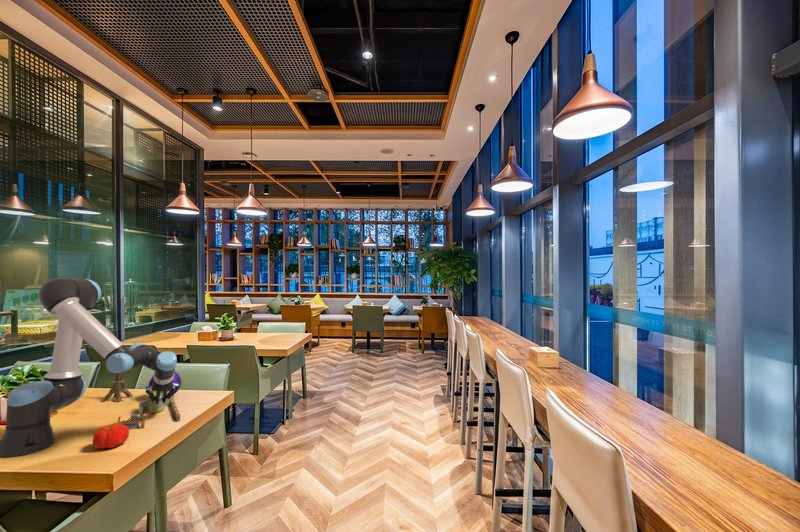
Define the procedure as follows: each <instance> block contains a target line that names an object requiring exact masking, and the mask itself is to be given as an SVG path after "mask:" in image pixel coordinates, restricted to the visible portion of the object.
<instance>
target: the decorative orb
mask: <svg viewBox="0 0 800 532" xmlns="http://www.w3.org/2000/svg"><path fill="white" fill-rule="evenodd" d="M153 381H154V375H153V376H152V377H151V378H150V380H149V381H148V386H147V387H151V386H152V384H153ZM173 382H174V383H178V384H179V388H178V389H176V390H175V392H174V393H173V395H172V396H174V395H175V394H176V393H177V392H179V390H180V388H181V386H182V378H181V376H180V374H179V373H178V372H177V371H175V373H174V379H173ZM170 389H171V388H170ZM170 389H169V390H170ZM169 390H167V391H169ZM152 391H153V392H154V390H152Z"/></svg>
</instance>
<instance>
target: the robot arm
mask: <svg viewBox="0 0 800 532" xmlns="http://www.w3.org/2000/svg"><path fill="white" fill-rule="evenodd" d="M101 297H102V290H101V287H100V285H99V284H98V283H97V282H95V281H94V280H92V279H88V278H82V277H81V278H79V277H74V278H72V277H71V278H69V277H56V278H52V279H49V280H47V281H46V282H44V283H43V284H42V285H41V286H40V288H39V290H38V300H39V302H40V304H41V305H42V306H43V308H44V309H46V311H47V312H48V313H49V314H50V315H52V316H58V322H57V328H56V334H55V340H54V347H53V351H52V357H51V361H50V362H51V363H50V368H49V371H48V372H47V373H45V374H44V376H43V380H38V381H37V380H36V381H31V382H29V383H24V384H20V385H18V386H15V387H14V388H12V389H11V390H10V391H9V392H8V396H7V399H6V415H5V417H6V418H5V419H6V420H5V431H4V434H3V436H2V437H1V439H0V458H11V457H13V458H14V457H20V456H24V455H28V454H33V453H37V452H38V451H42V450H44V449H47V448H49V447H51V446H52V445H54V444H55V442H56V435H55V433H54V430H53V428H52V425H51V414H52V413H51V412H53V411H56V410H59V409H60V408H63V407H66V406H70V405H72V404H73V403H75V402H77V401H78V400H80V399H81V398H82V397H83V395H84V394H85V392H86V390H87V382H86V380H85V378H84V377H83V373H82V372H81V370H79V365H80V359H81V352H82V347H83V340H84V341H85V342H86V343H87V344H88V345H89V346H90V347H91V348H93V349H94V350H95V352H97V353H98V354H99V355H100V356H101V357H102V358H104V359H105V361H106V362H105V367H106V370H108V371H109V373H113V374H116V373H121V372H122V373H125V372H128V371H129V370H132V369H135V368H138V367H140V366H141V367H145V368H147V369H149V370H152V371H153V372H154V374H153V376H154V381H153V384H152V386H151V387H148V386H145V393H146V394H148V395H149V397H150V399H151V401H152V402H154V401H155V404H158V409H161V408H162V403H165V401H166V399H170V398H171V396H172V395H173V393H174V392H175V390H176V389H178V388H179V384H178V383H174V382H173V379H174V373H175V372H176V367H177V365H178V364H177V363H178V361H177V360H178V357H177V354H175V352H173V351H162V352H161V351H159V350H157V349H155V348H153V347H150V346H149V345H147V344H145V343H142V342H134V344H132V345H130V346H129V348H128V347H127V346H126V345H125V344H123V342H122V341H121V340H119V339H118V338H117V337H116V336H115V334H114V333H112V332H111V331H109V329H108V328H107V327H105V326H104V325H103V324H102V323H101V321H99V320H98V319H97V318H96V317H95V316H94V315H92V314H91V313H90V312H93V309H94V308H93V307H94V305H95V304H96V303H98V302H99V300H100V299H101ZM170 388H171V389H170ZM169 389H170V390H169ZM179 389H180V388H179ZM152 390H154V391H156V392H157V393H156V397H154V394H153V391H152ZM167 390H169V392H168V394H167ZM162 391H163V396H160V393H161V392H162ZM173 396H174V395H173ZM19 455H20V456H19Z"/></svg>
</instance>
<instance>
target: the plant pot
mask: <svg viewBox="0 0 800 532" xmlns="http://www.w3.org/2000/svg"><path fill="white" fill-rule="evenodd" d="M168 392H169V391H167V394H168ZM156 393H157V392H156V391H154V392H153V394H154V397H156ZM145 396H146V398H147V399H146V400H148V407H149V409H148V412H149V413H150V414H152V413H153V414H155V413H157V412H159V413H160V412H163V411H164V410H165V407H166V406H165V403H162V408H161V409H158V404H155V401H154V402H152V401H151V399H150V397H149V395H148V394H147V393H146V394H145ZM160 396H163V391H162V392H161V393H160ZM165 402H166V401H165Z"/></svg>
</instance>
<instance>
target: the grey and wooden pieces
mask: <svg viewBox="0 0 800 532" xmlns="http://www.w3.org/2000/svg"><path fill="white" fill-rule="evenodd" d="M174 397H175V396H174V395H173V396H171V398H170V399H166V402H165V407H167V405H168V406H170V407H171V409H172V412H173V415H174V417H176V418H175V421H176V422H180V421H181V413H180V412H179V409H178V406H177V405H176V401H175V400H174V399H175V398H174ZM143 409H144V410H149V407H148V399H146V400H140V401H138V412H139V413H140V414H139V413H133V414H130V415H131V417H130V418H131V419H130V418H129V419H130V420H131V421H132V422H129V421H128V420H129V419H128V420H127V421H126V422H127V423H121V424H122V425H125V426H127V427H128V428H129V430H132V428H134V429H138V428H137V427H139V428H140V429H141V428H142V429H145V420H144V417H145V415H144V412H143ZM134 419H137V420H138V421H135V420H134ZM123 421H124V420H123ZM139 422H140V423H139Z"/></svg>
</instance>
